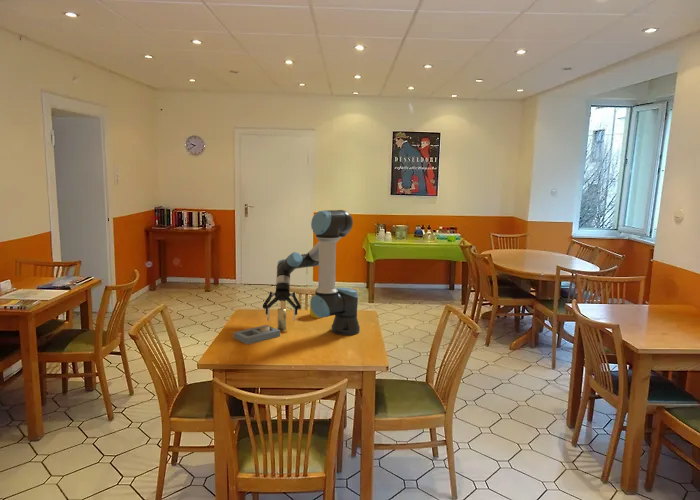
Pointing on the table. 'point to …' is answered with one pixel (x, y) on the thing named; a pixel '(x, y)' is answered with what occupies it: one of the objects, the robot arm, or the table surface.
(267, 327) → the wooden plug
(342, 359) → the table surface
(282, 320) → the brass cylinder
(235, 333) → the jig plate
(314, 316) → the tape roll
